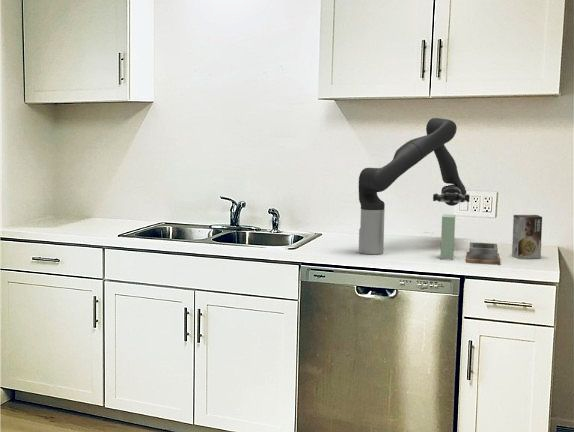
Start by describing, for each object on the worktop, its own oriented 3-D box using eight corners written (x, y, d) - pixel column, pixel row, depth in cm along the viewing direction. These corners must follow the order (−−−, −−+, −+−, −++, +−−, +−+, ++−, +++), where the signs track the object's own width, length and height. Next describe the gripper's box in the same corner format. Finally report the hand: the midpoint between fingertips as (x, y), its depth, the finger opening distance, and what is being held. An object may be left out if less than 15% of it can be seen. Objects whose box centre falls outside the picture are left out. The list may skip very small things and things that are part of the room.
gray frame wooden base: (465, 262, 247) (466, 248, 246) (466, 254, 264) (467, 241, 263) (500, 264, 244) (500, 250, 243) (498, 256, 261) (499, 243, 260)
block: (440, 259, 253) (442, 216, 252) (441, 255, 262) (443, 214, 260) (452, 259, 252) (454, 217, 250) (453, 255, 261) (455, 214, 259)
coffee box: (534, 255, 263) (536, 214, 261) (540, 258, 257) (543, 216, 255) (511, 255, 263) (513, 214, 261) (517, 258, 257) (519, 216, 255)
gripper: (435, 186, 283) (432, 189, 268) (470, 187, 279) (469, 190, 264) (434, 204, 284) (432, 208, 269) (469, 205, 280) (469, 209, 265)
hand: (450, 199), depth 266 cm, fingers open, 8 cm apart
